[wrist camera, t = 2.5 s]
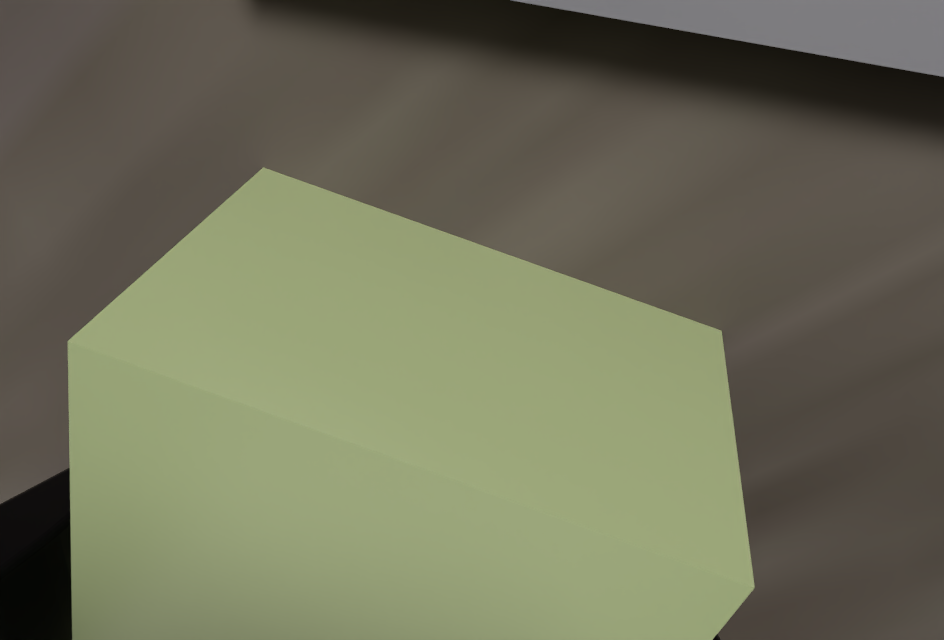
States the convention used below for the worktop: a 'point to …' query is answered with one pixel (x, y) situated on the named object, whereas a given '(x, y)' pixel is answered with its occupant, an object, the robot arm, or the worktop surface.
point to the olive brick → (393, 443)
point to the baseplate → (799, 25)
